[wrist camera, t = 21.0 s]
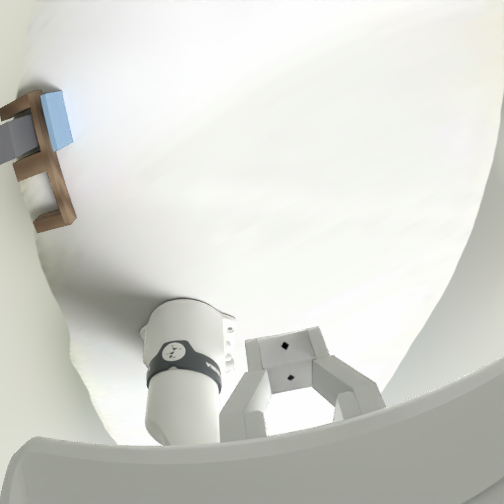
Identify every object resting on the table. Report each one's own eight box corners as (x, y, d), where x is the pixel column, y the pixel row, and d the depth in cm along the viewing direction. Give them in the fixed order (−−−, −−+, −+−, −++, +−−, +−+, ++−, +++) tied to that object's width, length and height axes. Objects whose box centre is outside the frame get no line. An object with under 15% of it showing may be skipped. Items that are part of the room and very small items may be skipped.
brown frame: (94, 212, 43) (83, 227, 39) (43, 226, 43) (30, 241, 38) (60, 81, 32) (43, 83, 27) (7, 106, 31) (-11, 112, 27)
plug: (43, 143, 36) (15, 157, 29) (24, 150, 36) (-4, 166, 29) (37, 112, 33) (7, 121, 26) (18, 120, 33) (-13, 132, 26)
